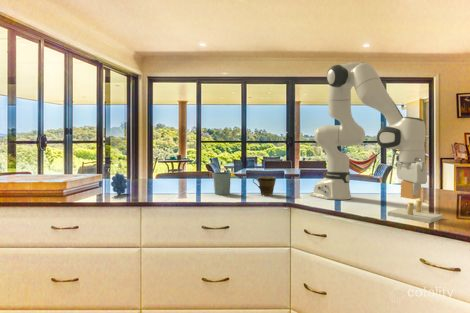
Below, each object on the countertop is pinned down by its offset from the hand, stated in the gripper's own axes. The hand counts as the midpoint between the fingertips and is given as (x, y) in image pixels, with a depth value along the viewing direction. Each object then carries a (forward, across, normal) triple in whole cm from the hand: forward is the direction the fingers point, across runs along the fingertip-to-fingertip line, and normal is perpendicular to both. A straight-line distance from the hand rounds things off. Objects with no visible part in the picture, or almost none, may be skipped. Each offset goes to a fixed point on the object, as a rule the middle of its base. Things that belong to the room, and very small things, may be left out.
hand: (410, 192), depth 126 cm
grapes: (+11, +29, +138) cm, 141 cm away
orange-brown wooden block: (+2, 0, 0) cm, 2 cm away
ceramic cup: (+10, +44, +60) cm, 75 cm away
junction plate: (+10, +4, -3) cm, 11 cm away
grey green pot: (+10, +43, +84) cm, 95 cm away
